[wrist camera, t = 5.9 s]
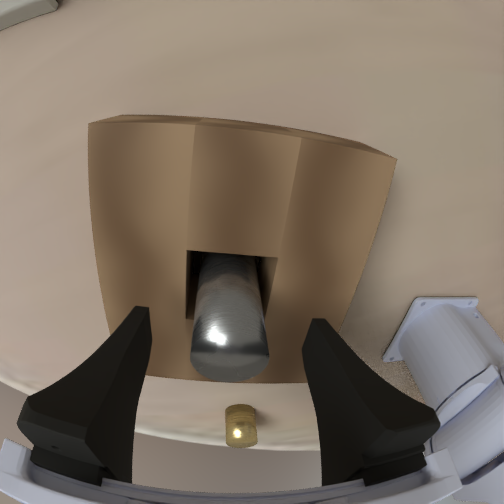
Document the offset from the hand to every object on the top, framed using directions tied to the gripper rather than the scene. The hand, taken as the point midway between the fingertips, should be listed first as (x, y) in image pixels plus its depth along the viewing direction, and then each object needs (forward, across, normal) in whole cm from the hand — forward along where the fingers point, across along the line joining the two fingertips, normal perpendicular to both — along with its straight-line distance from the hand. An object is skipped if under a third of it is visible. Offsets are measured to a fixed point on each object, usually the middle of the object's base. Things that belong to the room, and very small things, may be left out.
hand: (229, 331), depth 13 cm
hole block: (+7, 0, 0) cm, 7 cm away
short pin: (+8, -3, +20) cm, 22 cm away
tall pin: (+7, 0, 0) cm, 7 cm away
